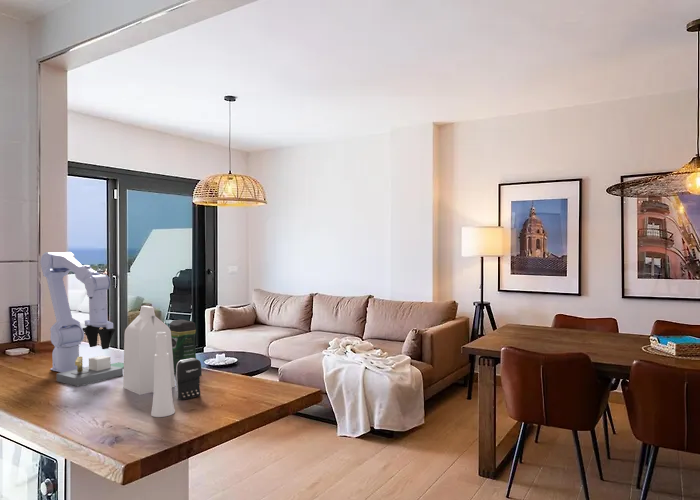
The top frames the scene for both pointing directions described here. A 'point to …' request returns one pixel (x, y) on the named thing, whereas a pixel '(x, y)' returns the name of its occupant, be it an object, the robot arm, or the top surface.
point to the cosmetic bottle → (162, 380)
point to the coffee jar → (182, 340)
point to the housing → (88, 375)
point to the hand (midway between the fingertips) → (99, 347)
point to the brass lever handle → (79, 364)
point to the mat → (118, 365)
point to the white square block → (99, 363)
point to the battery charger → (188, 378)
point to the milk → (144, 351)
